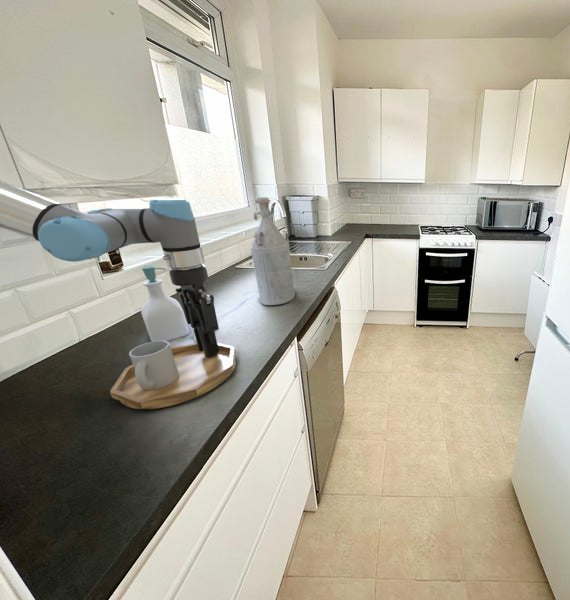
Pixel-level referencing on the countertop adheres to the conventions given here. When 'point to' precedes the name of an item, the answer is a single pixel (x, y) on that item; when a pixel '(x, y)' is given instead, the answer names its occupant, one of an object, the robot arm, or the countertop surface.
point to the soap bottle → (162, 311)
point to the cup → (154, 365)
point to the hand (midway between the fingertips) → (209, 351)
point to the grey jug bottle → (271, 259)
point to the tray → (192, 377)
